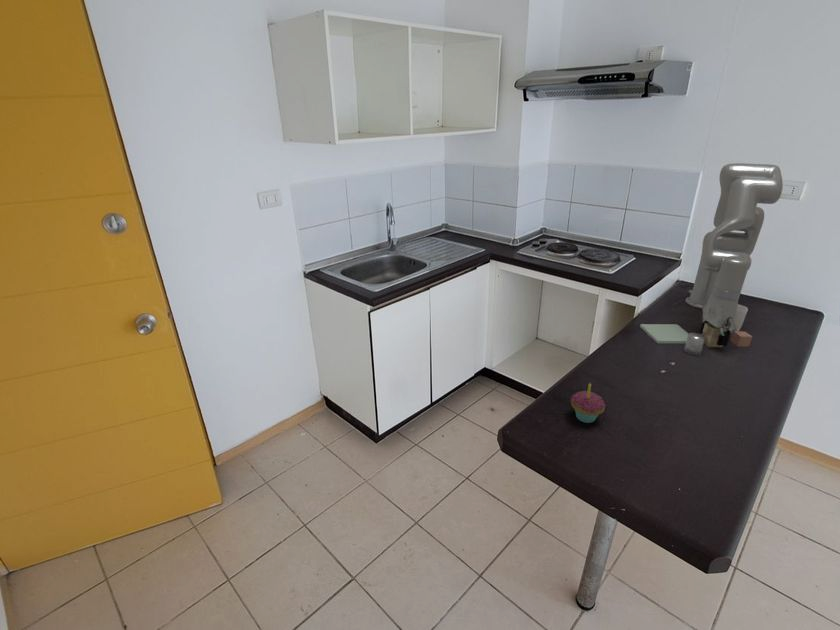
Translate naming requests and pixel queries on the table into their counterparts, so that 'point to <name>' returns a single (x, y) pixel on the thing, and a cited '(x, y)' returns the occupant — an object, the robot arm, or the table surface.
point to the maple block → (711, 335)
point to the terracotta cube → (741, 339)
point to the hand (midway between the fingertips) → (712, 338)
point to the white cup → (740, 316)
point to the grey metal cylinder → (694, 343)
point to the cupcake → (587, 405)
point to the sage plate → (665, 333)
